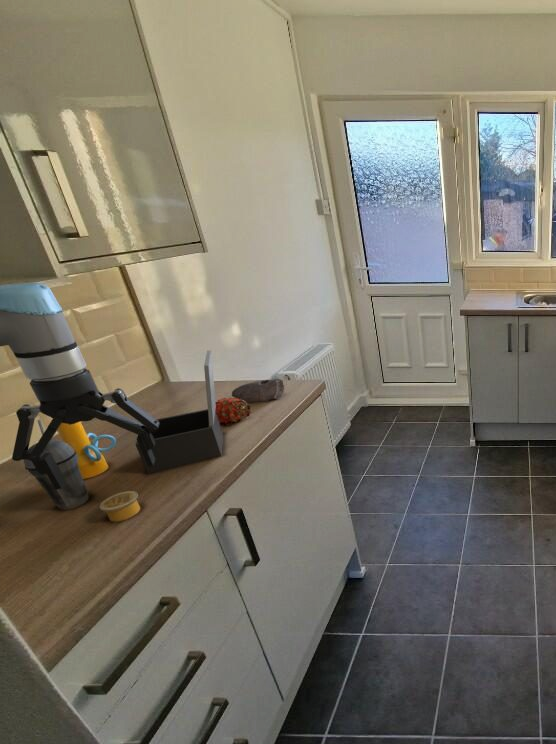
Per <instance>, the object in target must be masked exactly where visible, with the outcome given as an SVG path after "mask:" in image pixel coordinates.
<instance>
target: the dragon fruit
mask: <svg viewBox="0 0 556 744" xmlns="http://www.w3.org/2000/svg"><path fill="white" fill-rule="evenodd" d="M215 403H216V408H215V411H216V415H217V418H218V421H219V424H221V423H224V424H225V426H230V425H233V423H235V424H236V423H237V422H241V421H243V420H244V419H246V418H247V417H249V416H250V415H251V414H252V412H251V411H250V410H251V406H250V404H249V403H247V402H246V401H244V400H242V399H238V398H235V397H232V396H228V398H227V397H222V398H218V399H217V401H215Z"/></svg>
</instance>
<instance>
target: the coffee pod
mask: <svg viewBox="0 0 556 744" xmlns="http://www.w3.org/2000/svg"><path fill="white" fill-rule="evenodd" d="M138 499H139V493H138V492H137V491H133V490H129V491H121V492H119V493H116V494H113V495H112V496H109V497H108V498H106V499H104V500H103V501H102V502H101V503H100V505H99V509H100V511H102V512H104V513H106V515H107V518H108V519H109V521H111V522H121V521H125V520H127V519H130V518H132V517H134V516H135V515H137V514H138V513H139V512H140V510H141V506H140V504H139V502H138Z"/></svg>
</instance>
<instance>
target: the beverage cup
mask: <svg viewBox="0 0 556 744" xmlns="http://www.w3.org/2000/svg"><path fill="white" fill-rule="evenodd" d="M36 421H37V424H38V426H39V430H40V433H41V436H42V435H43V434H44V432H45V430H46V429H45V428H44V424H43V422H42V419H37V420H36ZM37 443H38V442H36V443H34V444H32V445H31V446H29V448H28V450H33V449H34V448H35V446H36V444H37ZM49 452H50V453H51V455H52V456H53V458H54V460H55V462H56V464H57V465H58V467H59V469H60V471H61V473H62V475H63V476H64V478H65V480H66V482H65V483H64V485H63V486H62V488H61V489H57V490H56V489H55V488H54V486H53V484H52V482H51V481H50V479H49V477H48V475H47V474H43V475H41V474H39V473H38V471H37V470H36V468H35V466H34V464H33V463H32V461H30V460H23V464H24V468H25V470H26V471H28V472H29V473H30V475H32V476H33V477H34V478H35V479H36V480H37V482H38V483H39V485H40V486H41V487H42V489H43V490H44V491H45V493H46V494H47V495H48V497H49V498H50V499H51V500H52V502H53V504H54V505H55V507H57V508H58V509H59V510H62V511H63V510H65V511H66V510H71V509H75V508H77V507H79V506H81V505H84V504H85V503H86V502H87V501H88V500H89V499H90V498H89V492H88V489H87V486H86V484H85V481H84V479H83V478H82V475H81V472H80V469H79V467H78V464H77V462H78V461H77V456H76V452H75V450H73V449H72V447H71V446H70V445H68V444H67V443H65V442H62V440H58V439H51V441H50V442H49V444H48V445H47V447H46V448H45V450H44V452H43V455H44V454H45V453H49Z"/></svg>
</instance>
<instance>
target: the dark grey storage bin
mask: <svg viewBox="0 0 556 744" xmlns="http://www.w3.org/2000/svg"><path fill="white" fill-rule="evenodd" d="M155 419H156V420H157V421H159V422H160V425H159V428H158V430H157V431H153V432H151V434H152V436H153V439H154V441H155V447H154V449H151V450H152V452H153V455H154V457H155V462H154V465H153V466H150V467H149V466H148V464H147V462H146V460H145V457H144V455H143V453H142V451H141V448H140V446H139V444H138V442H137V441H136V442H135V447H136V450H137V451H138V454H139V457H140V458H141V461H142V464H143V466H144V468H145V471H146V473H147V475H151V474H154V473H158V472H161V471H166V470H169V469H170V470H171V469H174V468H179V467H182V466H186V465H191V464H195V463H199V462H203V461H207V460H211V459H215V458H220V457H222V456H223V455H222V454H223V440H224V439H223V438H224V437H223V436H224V433H223V431H222V427H221V423H219V421H218V418H217V415H216V411H215V418H214V426H209V416H208V408H207V409H203V410H196V411H192V412H191V411H190V412H186V413H182V414H177V415H172V416H167V417H161V418H155Z"/></svg>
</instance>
